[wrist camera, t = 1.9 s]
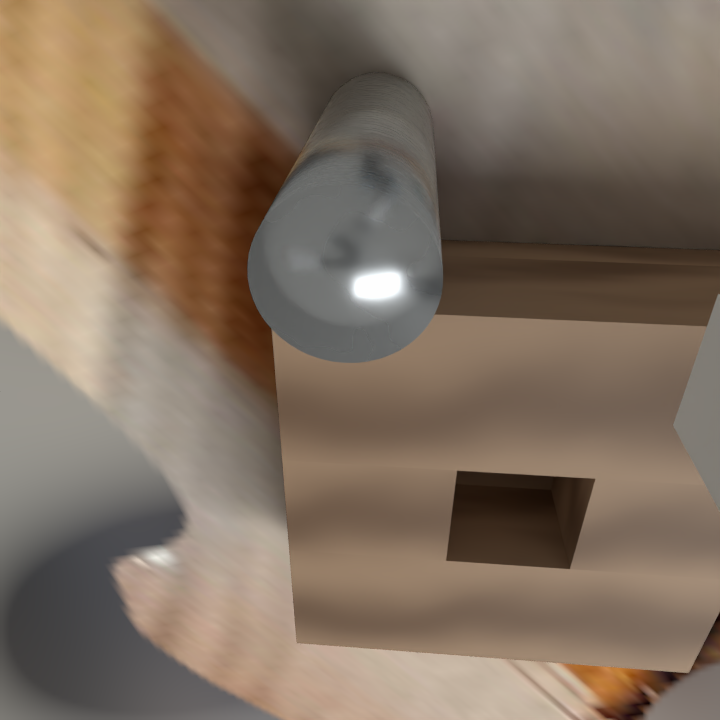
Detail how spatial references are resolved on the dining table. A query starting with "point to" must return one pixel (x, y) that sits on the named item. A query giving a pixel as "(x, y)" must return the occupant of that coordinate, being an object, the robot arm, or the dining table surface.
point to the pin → (355, 229)
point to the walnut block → (512, 467)
